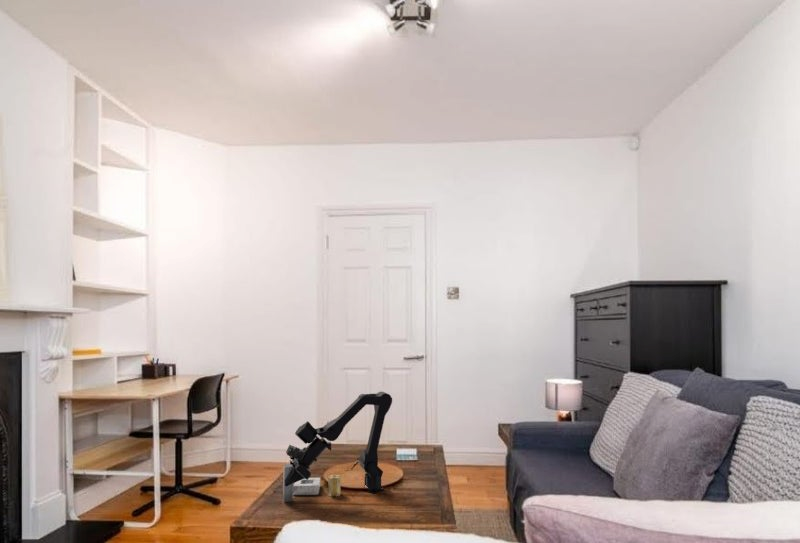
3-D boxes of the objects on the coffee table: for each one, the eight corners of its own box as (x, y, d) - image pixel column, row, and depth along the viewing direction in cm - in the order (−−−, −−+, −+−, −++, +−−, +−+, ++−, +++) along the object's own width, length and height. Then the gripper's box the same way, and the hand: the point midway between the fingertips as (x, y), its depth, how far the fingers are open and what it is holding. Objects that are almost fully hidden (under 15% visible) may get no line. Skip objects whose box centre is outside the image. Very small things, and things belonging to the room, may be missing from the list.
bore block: (320, 486, 217) (320, 477, 218) (318, 494, 207) (318, 485, 208) (296, 486, 216) (296, 478, 217) (293, 495, 207) (293, 486, 207)
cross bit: (343, 494, 207) (343, 476, 208) (333, 497, 204) (334, 479, 204) (334, 491, 211) (334, 473, 211) (325, 494, 207) (325, 476, 207)
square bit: (291, 498, 203) (291, 464, 204) (292, 501, 200) (293, 466, 201) (282, 499, 202) (283, 465, 203) (283, 502, 199) (284, 467, 200)
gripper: (295, 432, 213) (267, 462, 208) (302, 443, 195) (271, 476, 191) (314, 450, 215) (286, 481, 210) (323, 462, 197) (293, 496, 193)
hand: (284, 483), depth 201 cm, fingers open, 6 cm apart
